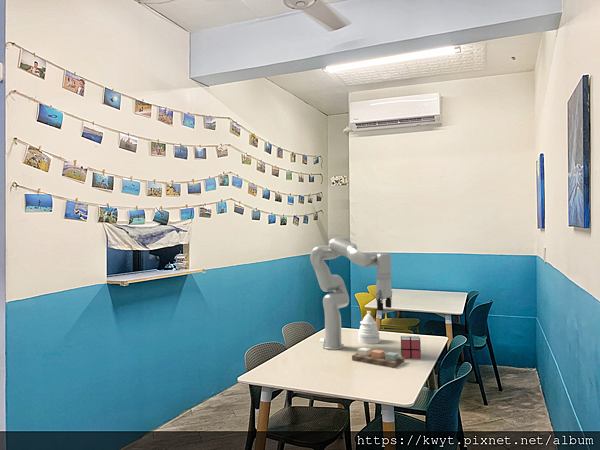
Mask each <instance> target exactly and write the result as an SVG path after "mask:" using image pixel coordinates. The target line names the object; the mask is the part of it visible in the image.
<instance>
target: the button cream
mask: <svg viewBox="0 0 600 450" xmlns="http://www.w3.org/2000/svg"><path fill="white" fill-rule="evenodd" d="M371 351H372V348H370V347H369V348H368V347H360V348H358V349H357V353H358V355H362V356H368V355H371Z"/></svg>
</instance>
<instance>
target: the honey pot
mask: <svg viewBox="0 0 600 450" xmlns="http://www.w3.org/2000/svg"><path fill="white" fill-rule="evenodd" d="M371 313H372V312H371V311H370V310H366V314H365V316H364V317H363V319H362V320H361V321H360V322H359V323H360V324H359V325H360V326H359V329H358V333H357V335H358V336H357V339H358V343H360V344H365V345H373V344H378V343H380V332H379V329H378V326H377V321H375V318H374V317H373V316H372V315H371Z"/></svg>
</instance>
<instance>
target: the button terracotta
mask: <svg viewBox="0 0 600 450" xmlns="http://www.w3.org/2000/svg"><path fill="white" fill-rule="evenodd" d="M384 354H385V350H380V349H373V350H371V357H373V358H379V359H381V358H383V357H385V356H384Z"/></svg>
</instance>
